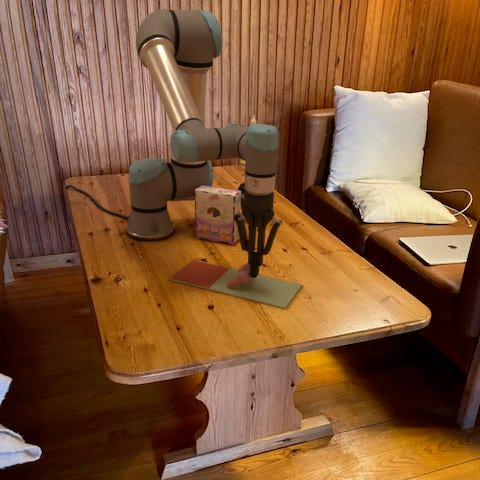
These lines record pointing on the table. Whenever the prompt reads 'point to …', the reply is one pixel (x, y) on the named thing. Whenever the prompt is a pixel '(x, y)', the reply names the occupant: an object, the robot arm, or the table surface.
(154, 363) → the table surface
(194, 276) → the placemat
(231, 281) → the video game controller
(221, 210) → the candy box
